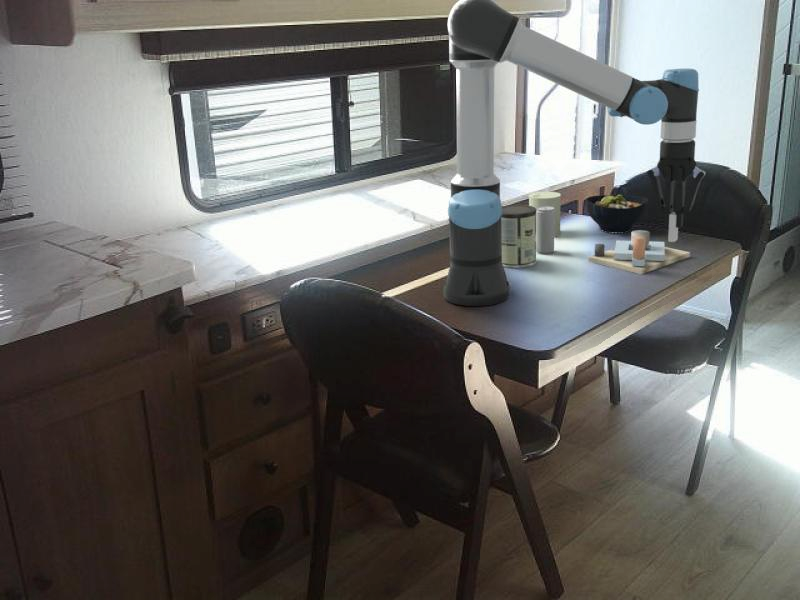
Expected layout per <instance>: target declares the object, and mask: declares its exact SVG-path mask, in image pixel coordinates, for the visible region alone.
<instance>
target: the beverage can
mask: <svg viewBox="0 0 800 600" xmlns="http://www.w3.org/2000/svg"><path fill="white" fill-rule="evenodd" d="M554 221H555V211H554V207H549V206H542V207H538V208H537V210H536V253H537V254H540V255H549V254H553V252H554V251H555V237H554Z"/></svg>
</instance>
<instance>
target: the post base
mask: <svg viewBox="0 0 800 600" xmlns="http://www.w3.org/2000/svg"><path fill="white" fill-rule="evenodd" d="M634 237H645V238H646V242H645V250H646V251H649V241H650V231H648V230H642V229H638V230H637V229H636V230H632V231H631V234H630V241H631V250H633V240H634ZM605 247H606V245H605V244H604V243H596V244H594V254H593V255H590V256H588V262H589V263H594V264H598V265H602V266H606V267H609V268H614V269H617V270H622V271H625V272H627V271H628V272H630V273H635V274H639V275H643V274H645V273H648V272H649V273H650V272H651V271H654V270H657V269H659V268H663V267H665V266H668V265H672V264H674V263H678V262H680V261H682V260H685V259H688V258H691V251H690V252H689V251H685V250H680V249H676V248H671V247H667V246H664V248H665V255H664V261H648V260H645V266H632V260H620V259H614V250H615V248H612V249H609V250H606V251H605Z"/></svg>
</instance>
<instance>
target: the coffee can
mask: <svg viewBox="0 0 800 600" xmlns="http://www.w3.org/2000/svg"><path fill="white" fill-rule="evenodd" d="M501 222H502V265H503V268H510V269H511V268H512V269H518V268H522V269H523V268H529V267H531V266H534V265H535V264H536V263H537V251H536V208H535V207H533V206H529V204H526V205H525V204H524V205H523V204H511V205H509V204H508V205H504V206H503V205H502V214H501Z"/></svg>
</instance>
